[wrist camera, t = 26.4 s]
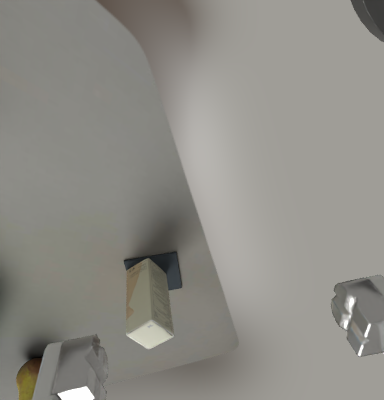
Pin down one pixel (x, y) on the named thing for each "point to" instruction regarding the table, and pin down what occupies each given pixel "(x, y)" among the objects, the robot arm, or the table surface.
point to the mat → (162, 267)
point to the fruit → (28, 378)
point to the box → (148, 305)
